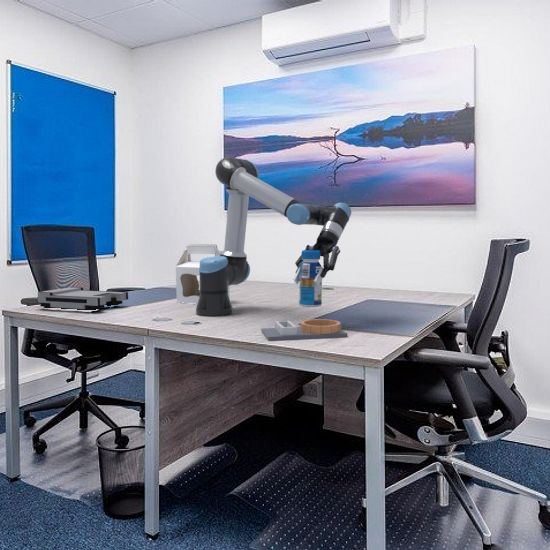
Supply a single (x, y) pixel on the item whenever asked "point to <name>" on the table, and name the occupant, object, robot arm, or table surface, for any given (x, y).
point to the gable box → (191, 272)
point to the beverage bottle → (310, 279)
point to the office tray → (80, 298)
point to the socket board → (299, 335)
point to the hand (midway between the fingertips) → (305, 282)
